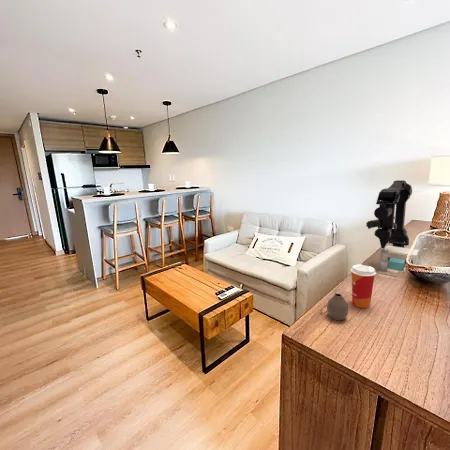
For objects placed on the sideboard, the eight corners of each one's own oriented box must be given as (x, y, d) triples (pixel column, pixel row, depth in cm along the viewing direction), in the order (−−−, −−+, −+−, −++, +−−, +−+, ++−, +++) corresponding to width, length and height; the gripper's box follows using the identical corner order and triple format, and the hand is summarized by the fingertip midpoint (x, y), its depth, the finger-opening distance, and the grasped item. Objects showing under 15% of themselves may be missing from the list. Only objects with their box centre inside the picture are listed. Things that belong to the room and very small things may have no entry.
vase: (322, 315, 88) (323, 293, 87) (336, 309, 91) (337, 288, 89) (338, 325, 82) (339, 302, 80) (352, 319, 85) (353, 296, 83)
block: (390, 264, 125) (390, 257, 124) (404, 267, 121) (405, 259, 120) (387, 268, 121) (388, 260, 120) (402, 271, 117) (403, 263, 116)
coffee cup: (353, 296, 100) (355, 262, 96) (376, 303, 94) (379, 267, 91) (345, 305, 94) (347, 268, 91) (369, 312, 88) (372, 274, 85)
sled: (384, 264, 128) (386, 243, 125) (407, 268, 121) (409, 246, 119) (378, 273, 118) (380, 250, 116) (402, 278, 112) (404, 254, 109)
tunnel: (385, 259, 136) (386, 245, 135) (417, 264, 127) (418, 249, 125) (381, 264, 129) (382, 250, 128) (414, 270, 120) (416, 255, 118)
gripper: (373, 210, 130) (371, 238, 134) (363, 217, 117) (361, 248, 121) (398, 212, 123) (395, 241, 126) (390, 219, 110) (388, 252, 113)
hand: (384, 245), depth 122 cm, fingers open, 9 cm apart
